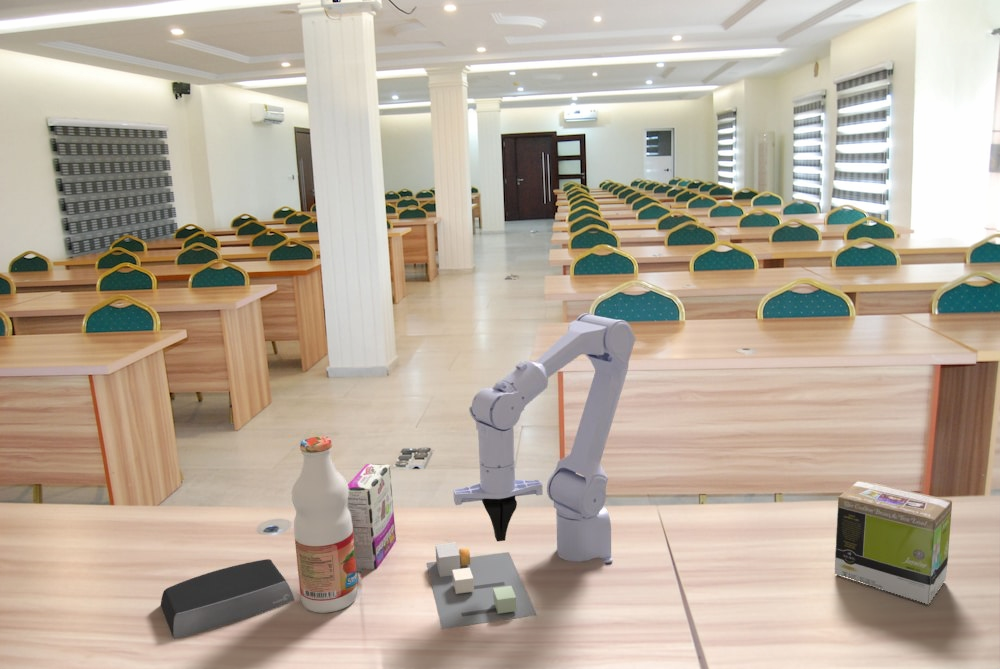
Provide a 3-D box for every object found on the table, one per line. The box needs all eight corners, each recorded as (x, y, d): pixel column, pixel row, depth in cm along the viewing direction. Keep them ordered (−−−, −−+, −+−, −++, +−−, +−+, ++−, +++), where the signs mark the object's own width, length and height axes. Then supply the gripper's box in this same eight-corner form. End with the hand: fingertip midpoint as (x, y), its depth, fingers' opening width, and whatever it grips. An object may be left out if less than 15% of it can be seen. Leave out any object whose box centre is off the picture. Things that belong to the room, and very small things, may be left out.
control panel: (508, 557, 147) (508, 533, 146) (537, 620, 127) (536, 594, 126) (426, 567, 144) (425, 544, 143) (442, 634, 124) (440, 607, 123)
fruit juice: (296, 592, 138) (280, 437, 131) (350, 579, 141) (337, 427, 135) (307, 620, 129) (291, 455, 123) (364, 605, 133) (352, 444, 127)
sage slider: (511, 599, 131) (511, 585, 130) (516, 611, 127) (516, 597, 127) (493, 601, 130) (492, 588, 130) (497, 613, 127) (497, 599, 126)
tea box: (946, 582, 134) (955, 499, 131) (928, 607, 127) (936, 520, 124) (853, 554, 144) (859, 476, 141) (831, 576, 137) (837, 495, 134)
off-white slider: (470, 580, 137) (469, 567, 136) (473, 591, 133) (473, 578, 133) (452, 582, 136) (452, 569, 136) (455, 593, 133) (455, 580, 132)
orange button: (467, 559, 144) (467, 545, 143) (470, 567, 141) (469, 552, 140) (459, 560, 143) (458, 546, 143) (461, 568, 141) (460, 553, 140)
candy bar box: (372, 543, 154) (366, 462, 150) (397, 545, 153) (391, 463, 149) (350, 573, 143) (342, 486, 140) (376, 575, 142) (370, 488, 139)
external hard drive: (296, 605, 135) (294, 583, 134) (174, 644, 125) (170, 620, 124) (274, 572, 146) (272, 551, 145) (160, 606, 136) (156, 584, 135)
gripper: (534, 448, 136) (536, 522, 139) (449, 457, 134) (453, 533, 137) (545, 463, 130) (546, 541, 133) (455, 473, 127) (459, 552, 130)
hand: (500, 538), depth 134 cm, fingers closed
